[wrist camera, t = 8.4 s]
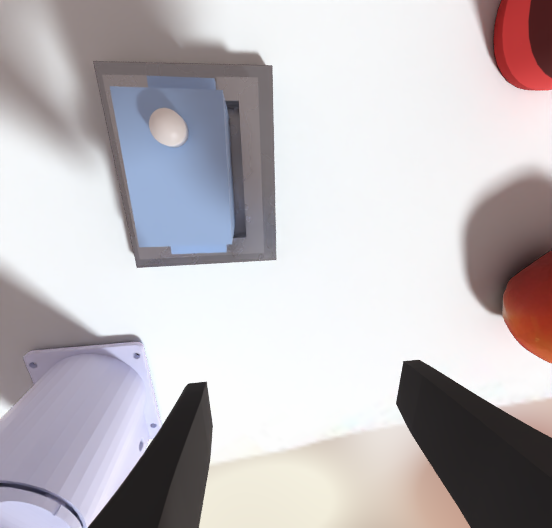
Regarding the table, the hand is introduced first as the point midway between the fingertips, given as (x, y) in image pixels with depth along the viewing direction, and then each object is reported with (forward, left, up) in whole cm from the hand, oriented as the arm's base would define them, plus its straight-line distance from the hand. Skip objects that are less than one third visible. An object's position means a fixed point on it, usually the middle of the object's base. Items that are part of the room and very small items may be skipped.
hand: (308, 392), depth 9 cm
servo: (+8, +5, -9) cm, 13 cm away
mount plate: (+8, +5, -10) cm, 14 cm away
